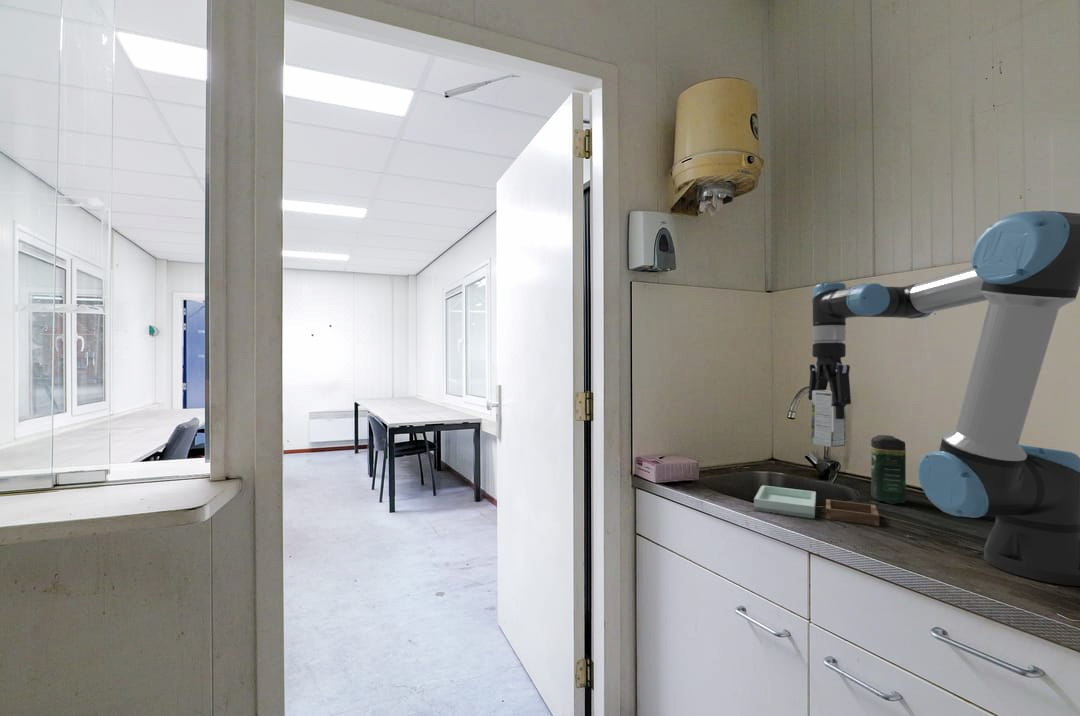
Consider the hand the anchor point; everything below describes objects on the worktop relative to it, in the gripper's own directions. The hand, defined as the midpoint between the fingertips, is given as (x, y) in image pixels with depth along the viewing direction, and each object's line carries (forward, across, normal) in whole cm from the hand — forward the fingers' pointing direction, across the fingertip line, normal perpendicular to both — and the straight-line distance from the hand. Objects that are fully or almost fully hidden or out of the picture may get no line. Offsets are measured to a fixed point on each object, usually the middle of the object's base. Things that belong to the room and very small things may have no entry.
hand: (828, 429), depth 129 cm
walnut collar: (+22, -4, -4) cm, 22 cm away
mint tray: (+22, +6, +8) cm, 24 cm away
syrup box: (+4, 0, 0) cm, 4 cm away
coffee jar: (+22, +12, -25) cm, 36 cm away
